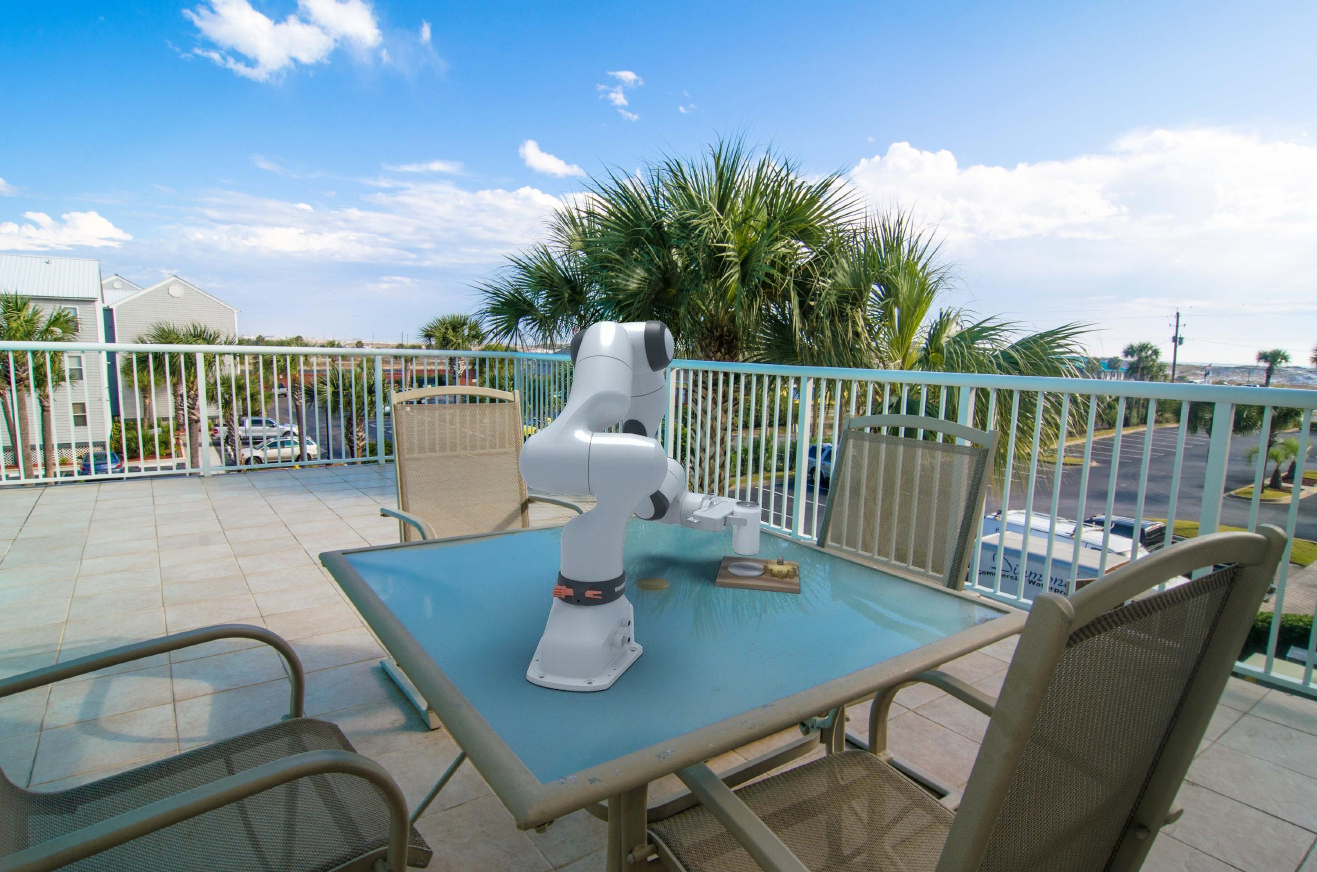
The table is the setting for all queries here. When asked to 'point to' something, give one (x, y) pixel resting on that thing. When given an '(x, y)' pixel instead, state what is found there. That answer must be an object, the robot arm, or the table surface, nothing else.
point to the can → (747, 528)
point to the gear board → (759, 574)
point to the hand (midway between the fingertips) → (751, 518)
